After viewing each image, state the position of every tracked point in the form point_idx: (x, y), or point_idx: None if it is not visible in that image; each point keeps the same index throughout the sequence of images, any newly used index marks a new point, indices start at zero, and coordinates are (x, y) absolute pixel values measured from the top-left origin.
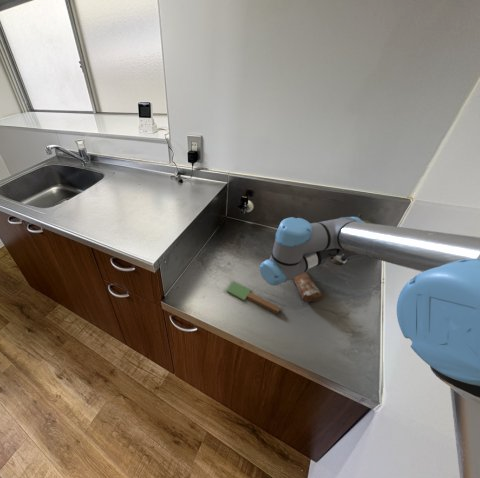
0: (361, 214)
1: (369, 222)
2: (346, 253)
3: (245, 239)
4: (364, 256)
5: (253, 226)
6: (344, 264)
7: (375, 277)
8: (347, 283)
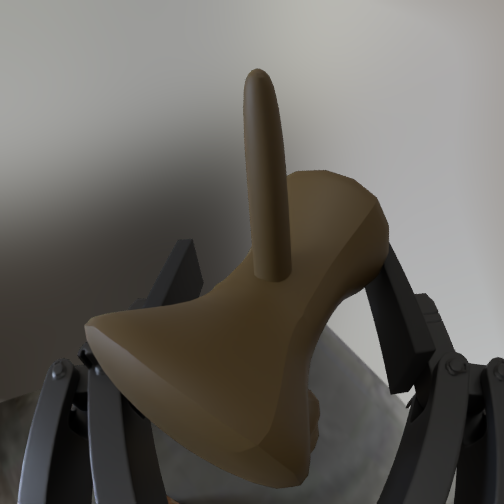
0: (266, 74)
1: (317, 175)
2: (309, 419)
3: (11, 464)
4: (486, 426)
5: (11, 401)
6: (317, 438)
7: (346, 351)
8: (329, 432)
